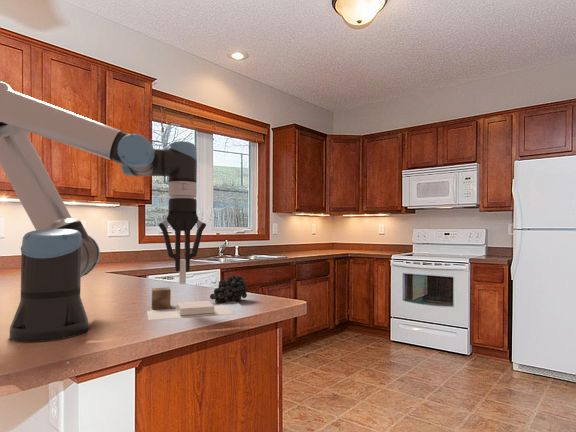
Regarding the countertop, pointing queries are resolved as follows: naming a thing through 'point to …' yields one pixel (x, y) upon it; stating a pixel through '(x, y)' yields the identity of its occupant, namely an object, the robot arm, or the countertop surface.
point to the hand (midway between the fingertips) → (182, 283)
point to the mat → (175, 314)
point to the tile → (195, 308)
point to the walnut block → (161, 298)
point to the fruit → (230, 289)
